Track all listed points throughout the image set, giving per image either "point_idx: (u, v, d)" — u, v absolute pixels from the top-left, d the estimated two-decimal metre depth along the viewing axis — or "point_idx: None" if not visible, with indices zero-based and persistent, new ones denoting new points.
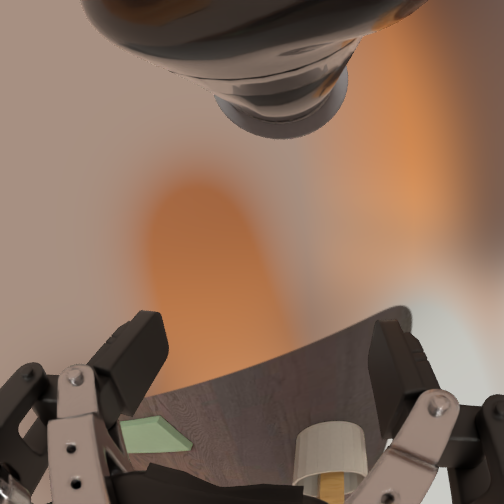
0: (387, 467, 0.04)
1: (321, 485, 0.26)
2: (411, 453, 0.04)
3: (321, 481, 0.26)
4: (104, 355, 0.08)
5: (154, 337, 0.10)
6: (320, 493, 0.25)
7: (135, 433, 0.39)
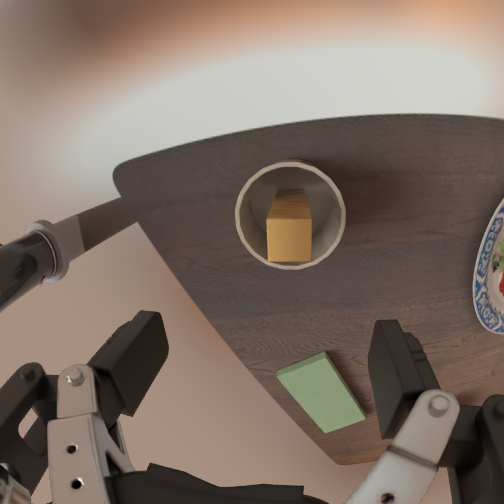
0: (387, 467, 0.04)
1: None
2: (411, 453, 0.04)
3: None
4: (104, 355, 0.08)
5: (154, 337, 0.10)
6: None
7: (312, 402, 0.42)
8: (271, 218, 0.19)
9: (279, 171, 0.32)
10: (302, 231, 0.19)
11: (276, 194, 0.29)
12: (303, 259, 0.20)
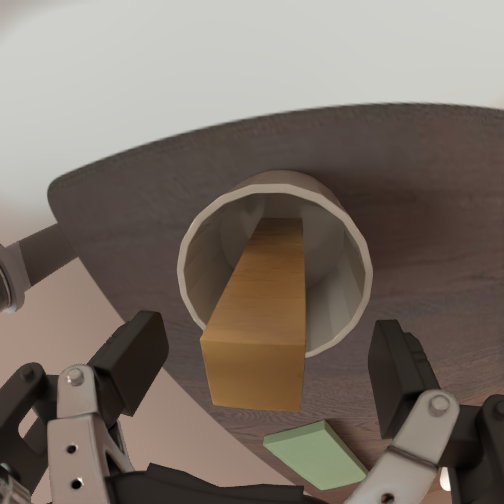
0: (387, 467, 0.04)
1: None
2: (411, 453, 0.04)
3: None
4: (104, 355, 0.08)
5: (155, 337, 0.10)
6: None
7: (307, 467, 0.30)
8: (212, 335, 0.08)
9: None
10: (281, 366, 0.08)
11: (254, 233, 0.17)
12: (283, 408, 0.09)
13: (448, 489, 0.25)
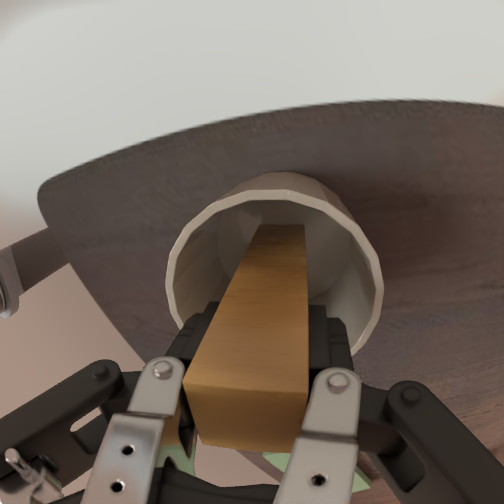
0: (305, 451, 0.04)
1: None
2: (325, 432, 0.05)
3: None
4: (187, 346, 0.08)
5: None
6: None
7: None
8: (196, 377, 0.07)
9: None
10: (278, 413, 0.06)
11: (251, 242, 0.16)
12: (281, 451, 0.07)
13: None
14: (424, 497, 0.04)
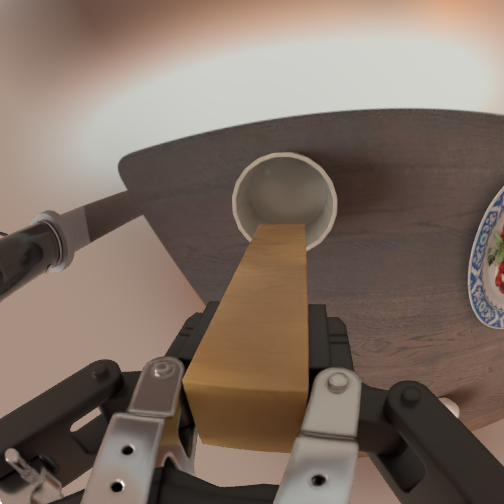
0: (305, 451, 0.04)
1: None
2: (325, 433, 0.05)
3: None
4: (187, 346, 0.08)
5: None
6: None
7: None
8: (196, 376, 0.07)
9: (276, 163, 0.33)
10: (278, 412, 0.06)
11: (251, 242, 0.16)
12: (281, 451, 0.07)
13: None
14: (424, 497, 0.04)
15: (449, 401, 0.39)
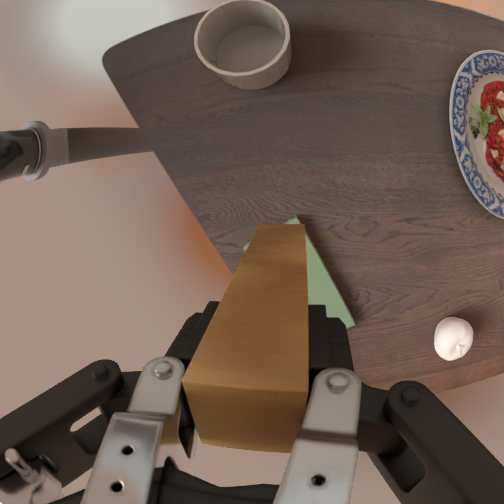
0: (305, 451, 0.04)
1: None
2: (325, 432, 0.05)
3: None
4: (187, 346, 0.08)
5: None
6: None
7: None
8: (196, 375, 0.07)
9: (241, 32, 0.29)
10: (278, 412, 0.06)
11: (251, 241, 0.16)
12: (281, 451, 0.07)
13: (445, 352, 0.35)
14: (424, 497, 0.04)
15: (459, 318, 0.36)
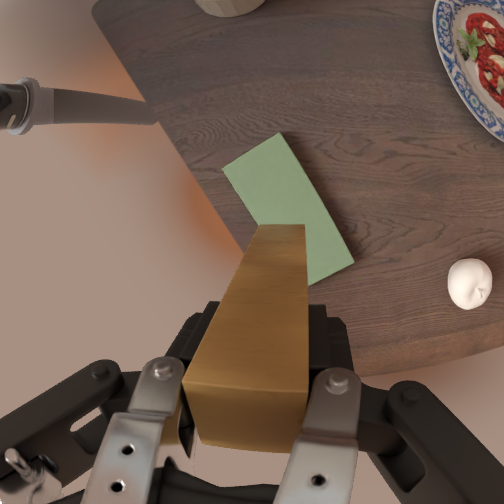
0: (305, 451, 0.04)
1: None
2: (325, 433, 0.05)
3: None
4: (187, 346, 0.08)
5: None
6: None
7: (273, 217, 0.34)
8: (196, 376, 0.07)
9: None
10: (278, 413, 0.06)
11: (251, 242, 0.16)
12: (281, 451, 0.07)
13: (463, 297, 0.29)
14: (424, 497, 0.04)
15: None
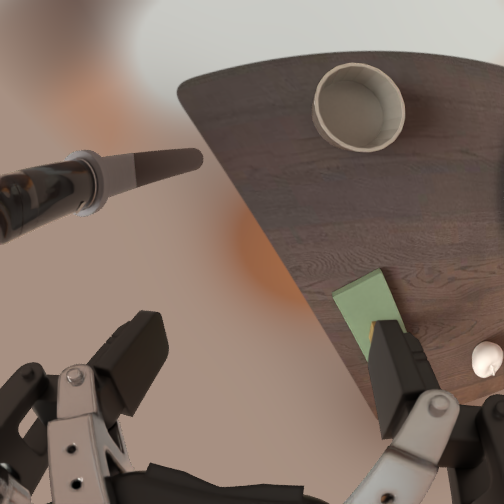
0: (387, 467, 0.04)
1: None
2: (411, 453, 0.04)
3: None
4: (104, 355, 0.08)
5: (154, 337, 0.10)
6: None
7: (365, 330, 0.42)
8: None
9: (339, 87, 0.32)
10: None
11: None
12: None
13: (482, 372, 0.37)
14: None
15: (493, 343, 0.38)
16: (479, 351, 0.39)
